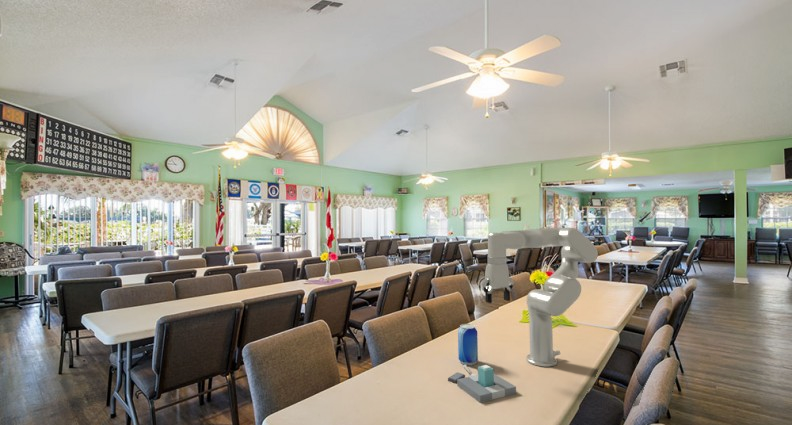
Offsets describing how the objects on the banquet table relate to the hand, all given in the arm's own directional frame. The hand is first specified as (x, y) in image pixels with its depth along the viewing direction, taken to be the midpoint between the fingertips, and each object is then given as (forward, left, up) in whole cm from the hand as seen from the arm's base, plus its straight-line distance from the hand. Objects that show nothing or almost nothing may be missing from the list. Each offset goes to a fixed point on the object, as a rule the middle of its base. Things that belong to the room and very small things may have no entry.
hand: (497, 301), depth 151 cm
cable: (+14, -2, -28) cm, 32 cm away
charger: (+17, +13, -28) cm, 35 cm away
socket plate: (+17, +13, -28) cm, 35 cm away
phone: (+22, +1, -28) cm, 36 cm away
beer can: (+8, -11, -28) cm, 32 cm away
